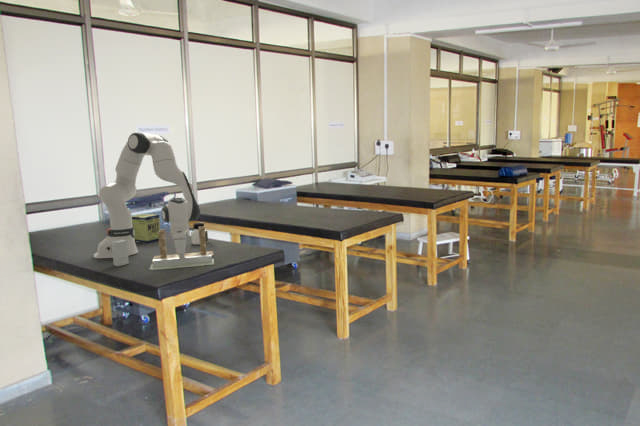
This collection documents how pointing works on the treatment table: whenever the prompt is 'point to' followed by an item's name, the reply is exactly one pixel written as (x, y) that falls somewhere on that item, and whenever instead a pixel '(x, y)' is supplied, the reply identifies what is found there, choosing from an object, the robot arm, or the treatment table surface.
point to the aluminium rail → (177, 262)
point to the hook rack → (202, 252)
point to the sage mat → (181, 265)
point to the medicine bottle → (197, 233)
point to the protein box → (146, 227)
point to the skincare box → (120, 252)
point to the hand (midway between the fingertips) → (182, 259)
